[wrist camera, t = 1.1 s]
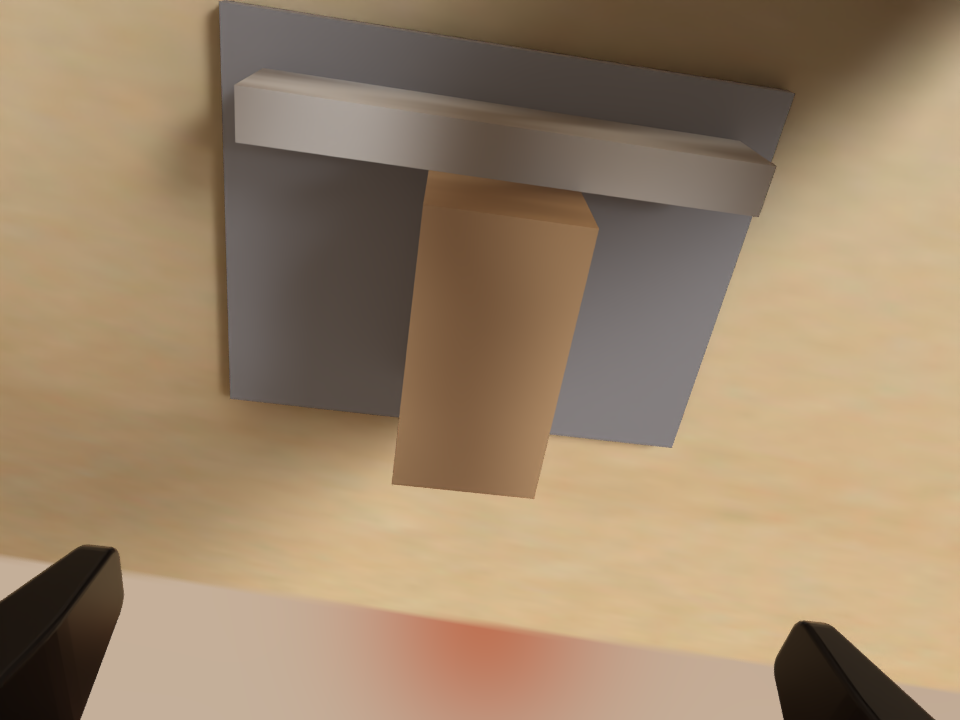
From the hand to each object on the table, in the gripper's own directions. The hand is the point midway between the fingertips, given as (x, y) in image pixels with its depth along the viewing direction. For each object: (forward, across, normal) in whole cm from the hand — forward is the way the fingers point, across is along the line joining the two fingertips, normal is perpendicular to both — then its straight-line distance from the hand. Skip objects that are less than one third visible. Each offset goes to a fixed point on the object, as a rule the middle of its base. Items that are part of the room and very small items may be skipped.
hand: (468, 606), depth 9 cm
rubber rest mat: (+12, 0, 0) cm, 13 cm away
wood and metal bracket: (+12, 0, 0) cm, 12 cm away
